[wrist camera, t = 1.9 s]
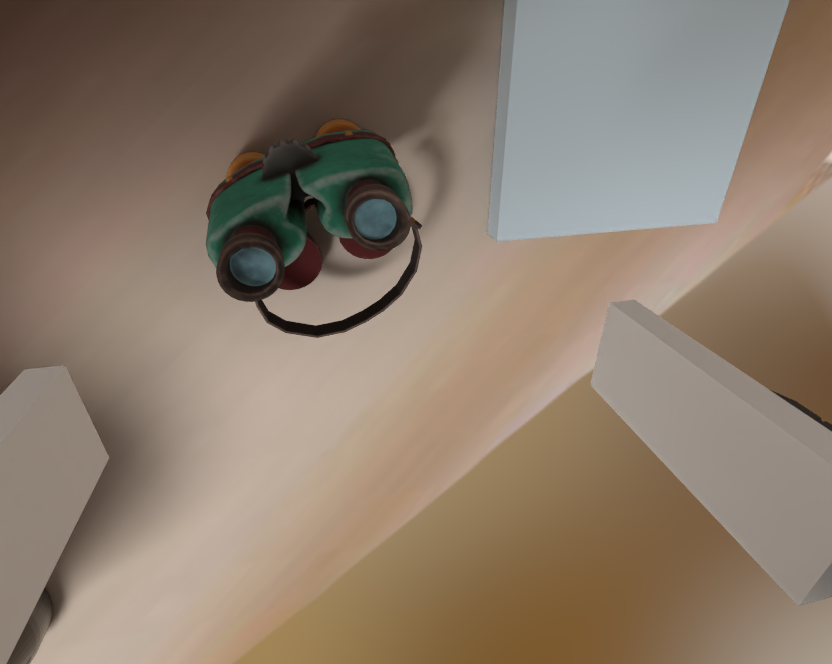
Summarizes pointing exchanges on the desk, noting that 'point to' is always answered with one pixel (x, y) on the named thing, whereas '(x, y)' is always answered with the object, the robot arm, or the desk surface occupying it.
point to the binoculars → (286, 217)
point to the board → (623, 111)
